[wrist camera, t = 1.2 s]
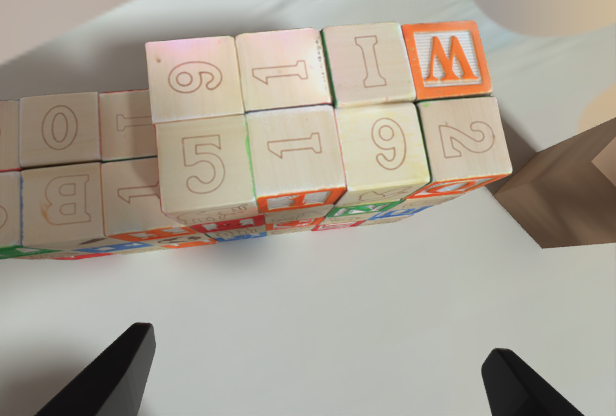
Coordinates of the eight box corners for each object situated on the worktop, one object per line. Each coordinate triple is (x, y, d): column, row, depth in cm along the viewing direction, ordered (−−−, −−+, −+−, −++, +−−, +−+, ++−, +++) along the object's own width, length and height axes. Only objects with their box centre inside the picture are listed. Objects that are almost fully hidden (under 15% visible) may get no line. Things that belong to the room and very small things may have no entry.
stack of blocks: (71, 263, 22) (-180, 255, 10) (69, 167, 23) (-162, 53, 11) (399, 221, 24) (521, 173, 12) (384, 136, 25) (482, 13, 13)
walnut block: (585, 203, 26) (721, 174, 18) (542, 248, 25) (665, 238, 17) (537, 152, 26) (649, 102, 18) (492, 195, 25) (591, 161, 17)
